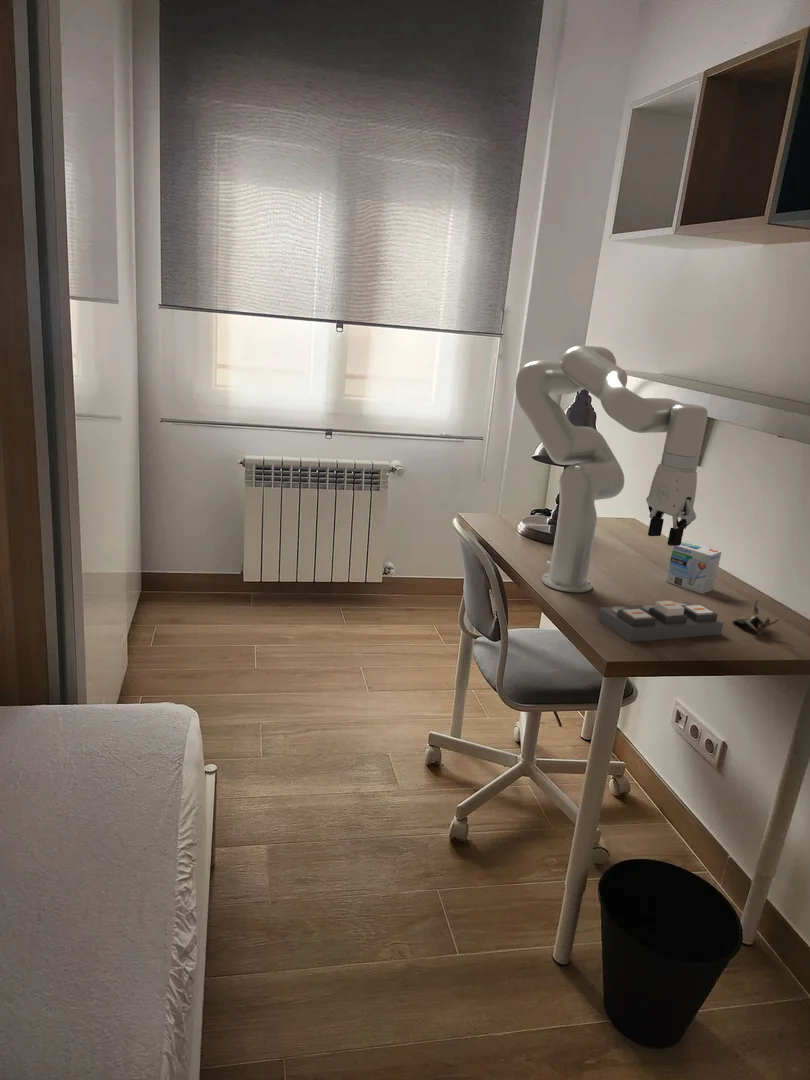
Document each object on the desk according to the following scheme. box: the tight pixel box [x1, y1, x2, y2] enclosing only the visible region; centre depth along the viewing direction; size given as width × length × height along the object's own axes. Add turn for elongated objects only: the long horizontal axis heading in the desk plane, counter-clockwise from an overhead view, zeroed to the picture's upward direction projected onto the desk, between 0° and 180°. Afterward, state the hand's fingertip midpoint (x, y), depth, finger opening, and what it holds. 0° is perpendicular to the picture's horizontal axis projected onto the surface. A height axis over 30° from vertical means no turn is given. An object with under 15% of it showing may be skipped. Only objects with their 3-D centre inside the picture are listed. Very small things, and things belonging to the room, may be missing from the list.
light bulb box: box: [665, 540, 722, 595], centre depth 205 cm, size 11×7×11 cm, turn 45°
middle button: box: [654, 600, 684, 616], centre depth 173 cm, size 4×4×2 cm
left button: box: [623, 609, 652, 619], centre depth 170 cm, size 4×4×2 cm
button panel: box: [597, 601, 724, 643], centre depth 176 cm, size 12×25×5 cm, turn 111°
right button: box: [685, 604, 714, 615], centre depth 177 cm, size 4×4×2 cm
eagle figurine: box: [732, 599, 780, 637], centre depth 180 cm, size 8×7×9 cm
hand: (663, 539), depth 174 cm, fingers open, 6 cm apart
